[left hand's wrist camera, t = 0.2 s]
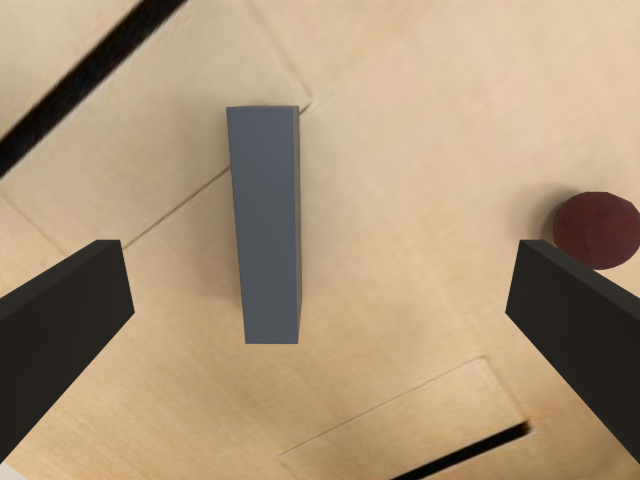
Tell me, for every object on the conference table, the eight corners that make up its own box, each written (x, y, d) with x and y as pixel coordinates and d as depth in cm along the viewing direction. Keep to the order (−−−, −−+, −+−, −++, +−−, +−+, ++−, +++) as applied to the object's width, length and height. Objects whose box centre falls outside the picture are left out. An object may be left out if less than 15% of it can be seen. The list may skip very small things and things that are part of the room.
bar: (246, 105, 35) (226, 107, 28) (298, 105, 35) (292, 107, 28) (258, 299, 43) (245, 344, 35) (301, 299, 43) (297, 344, 35)
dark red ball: (553, 263, 41) (597, 294, 35) (526, 208, 39) (569, 229, 32) (618, 229, 40) (677, 254, 33) (594, 169, 37) (653, 184, 31)
